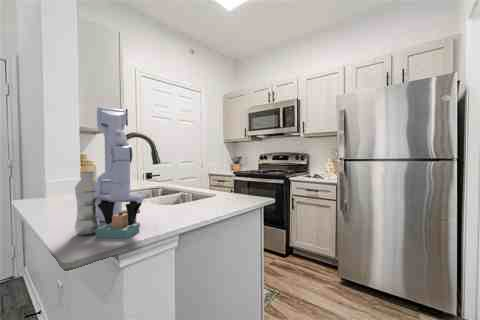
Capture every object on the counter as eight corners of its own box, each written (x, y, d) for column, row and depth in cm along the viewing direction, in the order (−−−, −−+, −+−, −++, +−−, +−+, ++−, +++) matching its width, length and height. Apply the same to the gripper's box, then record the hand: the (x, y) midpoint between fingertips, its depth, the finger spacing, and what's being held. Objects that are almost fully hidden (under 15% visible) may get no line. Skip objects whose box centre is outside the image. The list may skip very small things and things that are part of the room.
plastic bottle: (88, 238, 67) (88, 172, 67) (69, 236, 69) (69, 172, 68) (104, 231, 74) (104, 171, 74) (87, 229, 75) (87, 171, 75)
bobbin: (115, 229, 75) (115, 212, 75) (127, 223, 82) (127, 208, 82) (133, 230, 75) (133, 213, 75) (143, 224, 81) (143, 209, 81)
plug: (111, 234, 71) (112, 213, 71) (118, 231, 74) (118, 210, 74) (122, 235, 70) (122, 213, 70) (128, 231, 74) (128, 211, 74)
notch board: (95, 237, 68) (95, 229, 68) (111, 229, 75) (111, 222, 75) (126, 238, 67) (126, 230, 67) (138, 231, 74) (138, 223, 74)
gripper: (90, 183, 69) (90, 227, 69) (134, 184, 67) (134, 228, 67) (106, 181, 76) (106, 220, 76) (146, 181, 74) (146, 222, 74)
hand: (120, 224), depth 72 cm, fingers open, 7 cm apart
